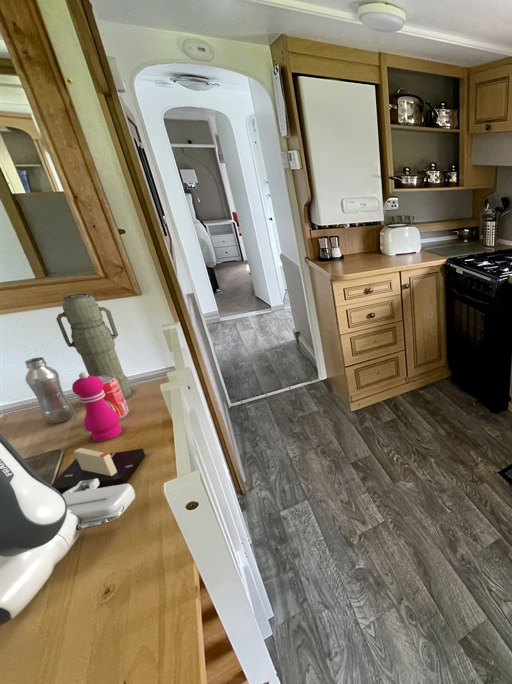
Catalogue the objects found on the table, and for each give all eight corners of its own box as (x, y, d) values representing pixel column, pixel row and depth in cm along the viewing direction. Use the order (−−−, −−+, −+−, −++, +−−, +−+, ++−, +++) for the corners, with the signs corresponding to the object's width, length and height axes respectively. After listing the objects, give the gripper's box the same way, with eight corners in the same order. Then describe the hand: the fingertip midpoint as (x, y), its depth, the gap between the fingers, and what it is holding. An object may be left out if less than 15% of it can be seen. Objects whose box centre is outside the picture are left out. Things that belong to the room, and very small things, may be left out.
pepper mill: (89, 434, 107) (62, 372, 99) (122, 424, 112) (99, 363, 104) (91, 446, 102) (64, 382, 95) (126, 434, 107) (102, 372, 100)
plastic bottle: (40, 428, 109) (10, 367, 101) (53, 416, 114) (25, 357, 107) (70, 423, 111) (43, 363, 104) (80, 411, 117) (55, 353, 109)
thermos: (141, 393, 128) (107, 294, 114) (95, 408, 118) (52, 302, 105) (132, 385, 132) (98, 289, 119) (87, 399, 123) (45, 297, 110)
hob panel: (42, 507, 83) (37, 498, 82) (79, 466, 95) (75, 457, 94) (122, 493, 87) (118, 484, 86) (148, 455, 99) (145, 447, 98)
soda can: (125, 408, 119) (112, 371, 114) (133, 416, 115) (119, 378, 111) (95, 418, 114) (80, 380, 109) (102, 427, 110) (86, 388, 105)
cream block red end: (81, 469, 91) (72, 450, 88) (88, 465, 92) (79, 446, 90) (111, 476, 89) (103, 456, 87) (117, 472, 90) (109, 453, 88)
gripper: (109, 509, 72) (143, 461, 84) (-33, 535, 66) (25, 479, 78) (120, 533, 74) (151, 483, 87) (-16, 560, 68) (37, 502, 81)
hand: (90, 481), depth 82 cm, fingers closed
